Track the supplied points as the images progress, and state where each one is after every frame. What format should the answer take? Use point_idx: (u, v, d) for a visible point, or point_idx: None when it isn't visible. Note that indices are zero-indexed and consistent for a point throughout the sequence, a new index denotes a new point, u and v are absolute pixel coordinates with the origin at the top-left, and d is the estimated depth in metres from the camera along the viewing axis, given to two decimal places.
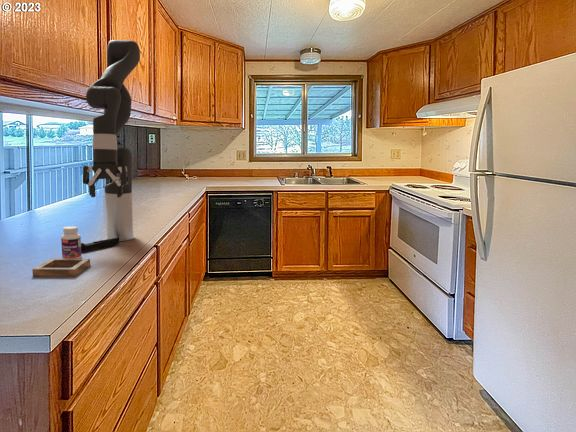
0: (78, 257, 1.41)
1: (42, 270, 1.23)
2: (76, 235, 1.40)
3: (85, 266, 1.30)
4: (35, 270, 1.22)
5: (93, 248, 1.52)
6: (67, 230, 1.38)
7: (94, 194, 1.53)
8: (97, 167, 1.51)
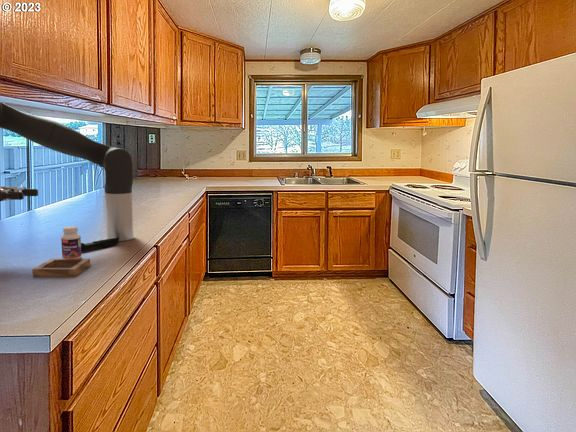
0: (78, 257, 1.41)
1: (42, 270, 1.23)
2: (76, 235, 1.40)
3: (85, 266, 1.30)
4: (35, 270, 1.22)
5: (93, 248, 1.52)
6: (67, 230, 1.38)
7: (33, 192, 1.41)
8: None
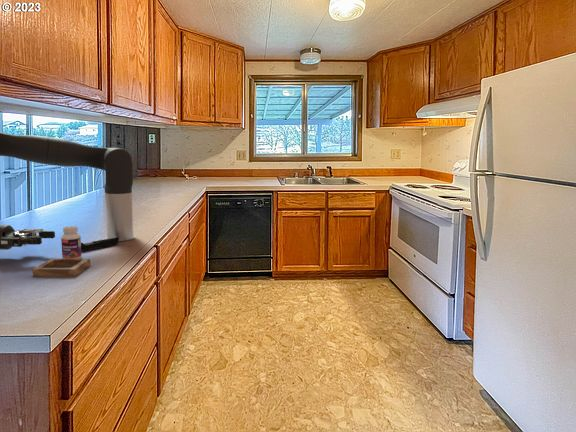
0: (78, 257, 1.41)
1: (42, 270, 1.23)
2: (76, 235, 1.40)
3: (85, 266, 1.30)
4: (35, 270, 1.22)
5: (92, 248, 1.52)
6: (67, 230, 1.38)
7: (51, 234, 1.44)
8: None
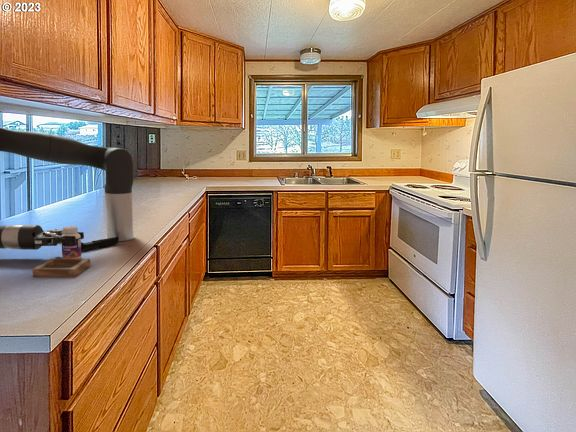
0: (78, 257, 1.41)
1: (42, 270, 1.23)
2: (76, 235, 1.40)
3: (85, 266, 1.30)
4: (35, 270, 1.22)
5: (92, 247, 1.53)
6: (67, 230, 1.38)
7: (80, 235, 1.43)
8: None
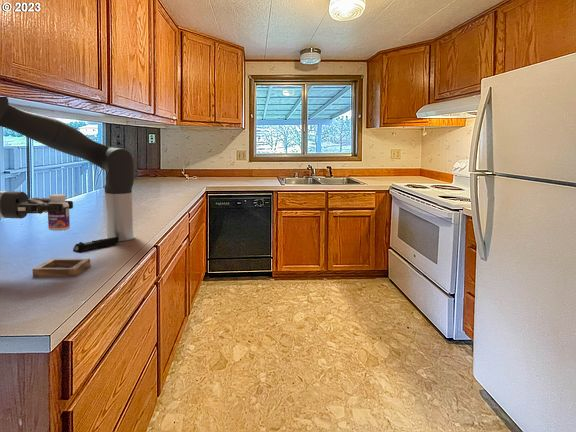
0: (66, 228, 1.28)
1: (42, 270, 1.23)
2: (64, 203, 1.27)
3: (85, 266, 1.30)
4: (35, 270, 1.22)
5: (92, 247, 1.53)
6: (54, 197, 1.26)
7: None
8: None
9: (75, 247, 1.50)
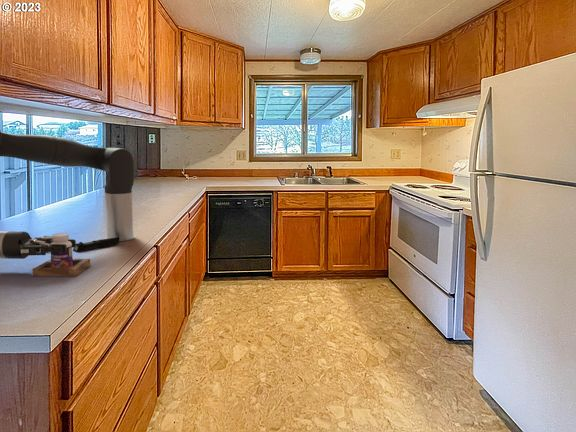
0: (69, 267, 1.27)
1: (42, 270, 1.23)
2: (67, 243, 1.26)
3: (85, 266, 1.30)
4: (35, 270, 1.22)
5: (92, 247, 1.53)
6: (57, 238, 1.25)
7: None
8: None
9: (75, 247, 1.51)
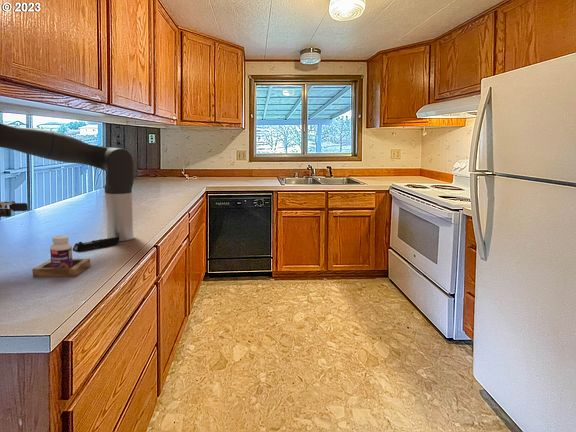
0: None
1: (42, 270, 1.23)
2: (67, 245, 1.26)
3: (85, 266, 1.30)
4: (35, 270, 1.22)
5: (91, 247, 1.53)
6: (57, 240, 1.25)
7: (23, 206, 1.29)
8: None
9: (75, 247, 1.51)
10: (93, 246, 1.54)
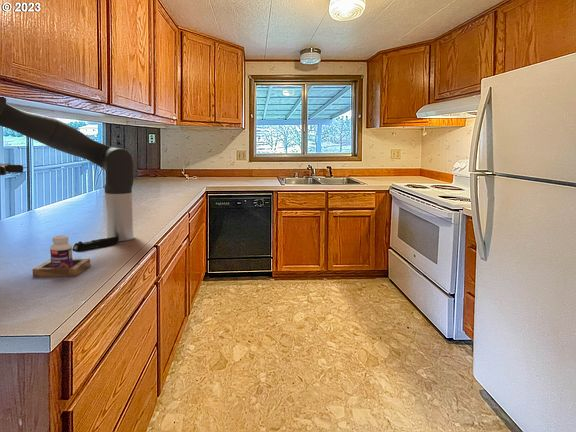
0: None
1: (42, 270, 1.23)
2: (67, 245, 1.26)
3: (85, 266, 1.30)
4: (35, 270, 1.22)
5: (91, 247, 1.54)
6: (57, 240, 1.25)
7: (18, 168, 1.27)
8: None
9: (74, 246, 1.51)
10: (93, 246, 1.54)
